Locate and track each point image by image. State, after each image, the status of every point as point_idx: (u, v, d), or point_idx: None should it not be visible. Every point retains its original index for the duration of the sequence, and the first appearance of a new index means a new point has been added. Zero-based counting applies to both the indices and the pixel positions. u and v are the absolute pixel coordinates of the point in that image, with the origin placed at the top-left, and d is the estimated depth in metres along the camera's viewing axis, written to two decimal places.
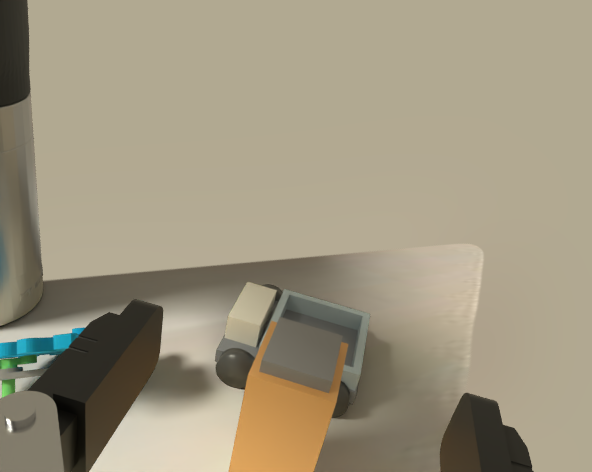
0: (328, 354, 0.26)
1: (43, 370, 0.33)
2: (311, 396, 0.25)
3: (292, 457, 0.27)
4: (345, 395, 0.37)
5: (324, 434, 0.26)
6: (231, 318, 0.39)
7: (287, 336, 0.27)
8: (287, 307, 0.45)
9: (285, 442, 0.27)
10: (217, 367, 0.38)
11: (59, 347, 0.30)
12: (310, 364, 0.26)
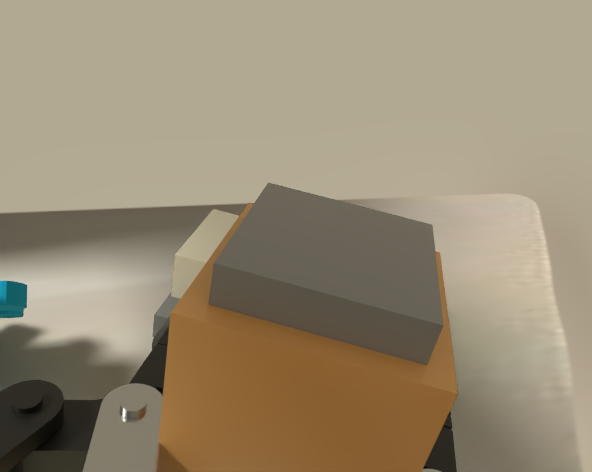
0: (409, 259, 0.09)
1: None
2: (376, 375, 0.08)
3: None
4: None
5: None
6: (181, 259, 0.22)
7: (290, 217, 0.10)
8: None
9: None
10: None
11: None
12: (364, 278, 0.08)
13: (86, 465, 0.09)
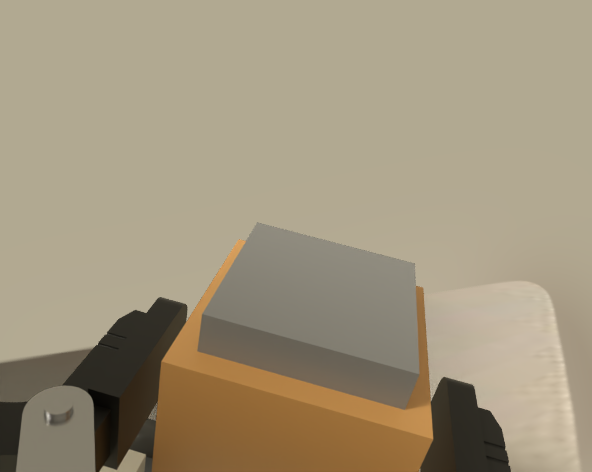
0: (390, 302, 0.10)
1: None
2: (356, 422, 0.08)
3: None
4: None
5: None
6: None
7: (277, 260, 0.10)
8: None
9: None
10: None
11: None
12: (345, 326, 0.09)
13: None
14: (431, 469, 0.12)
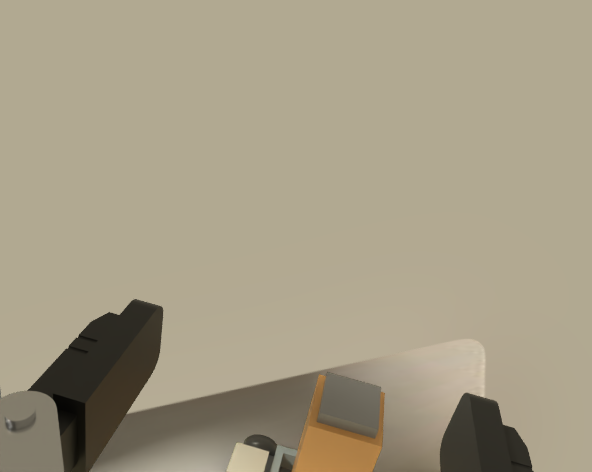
0: (371, 405, 0.32)
1: None
2: (361, 442, 0.30)
3: None
4: None
5: None
6: None
7: (336, 389, 0.32)
8: (281, 465, 0.41)
9: None
10: None
11: None
12: (358, 414, 0.31)
13: None
14: None
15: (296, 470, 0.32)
